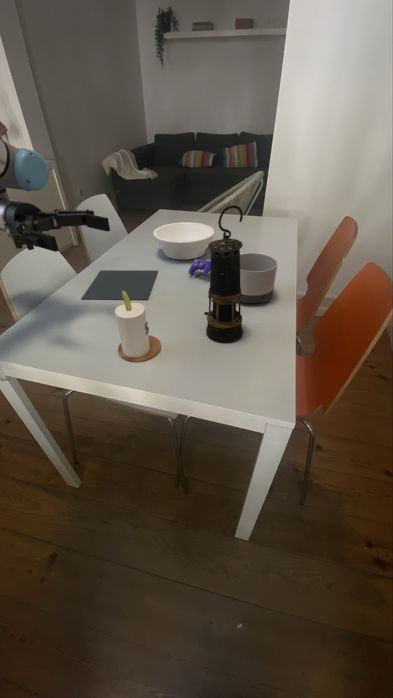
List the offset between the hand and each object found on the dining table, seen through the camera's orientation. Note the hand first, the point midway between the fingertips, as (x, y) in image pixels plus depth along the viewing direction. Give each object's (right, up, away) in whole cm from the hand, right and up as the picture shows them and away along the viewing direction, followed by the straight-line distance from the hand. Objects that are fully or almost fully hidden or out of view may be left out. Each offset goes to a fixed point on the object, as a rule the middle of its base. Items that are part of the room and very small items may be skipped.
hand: (83, 233), depth 64 cm
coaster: (+9, -23, +11) cm, 27 cm away
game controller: (+25, +1, +41) cm, 49 cm away
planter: (+39, -8, +30) cm, 49 cm away
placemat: (-1, -3, +37) cm, 37 cm away
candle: (+9, -23, +10) cm, 27 cm away
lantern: (+30, -19, +15) cm, 39 cm away
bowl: (+18, +13, +57) cm, 61 cm away
